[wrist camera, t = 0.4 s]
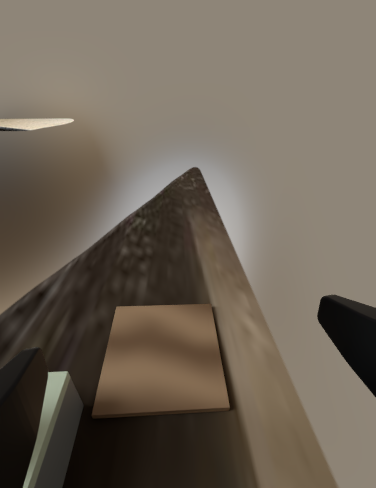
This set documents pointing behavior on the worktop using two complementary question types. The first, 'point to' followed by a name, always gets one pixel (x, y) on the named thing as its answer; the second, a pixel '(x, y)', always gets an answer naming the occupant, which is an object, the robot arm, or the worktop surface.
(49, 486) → the storage box
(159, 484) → the worktop surface
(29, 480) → the lid
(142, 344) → the walnut board
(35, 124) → the worktop surface
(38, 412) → the robot arm
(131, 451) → the worktop surface
